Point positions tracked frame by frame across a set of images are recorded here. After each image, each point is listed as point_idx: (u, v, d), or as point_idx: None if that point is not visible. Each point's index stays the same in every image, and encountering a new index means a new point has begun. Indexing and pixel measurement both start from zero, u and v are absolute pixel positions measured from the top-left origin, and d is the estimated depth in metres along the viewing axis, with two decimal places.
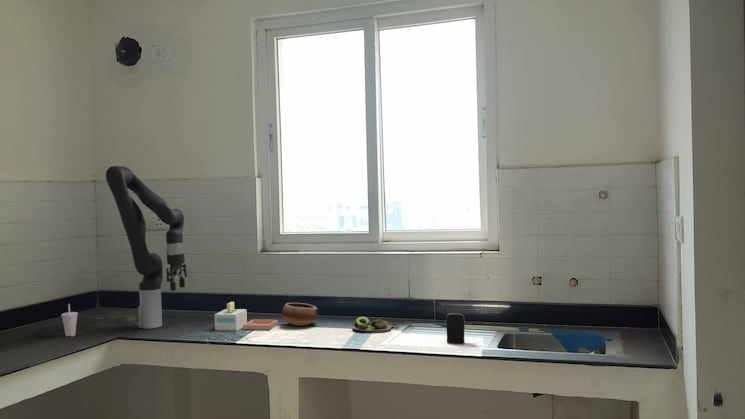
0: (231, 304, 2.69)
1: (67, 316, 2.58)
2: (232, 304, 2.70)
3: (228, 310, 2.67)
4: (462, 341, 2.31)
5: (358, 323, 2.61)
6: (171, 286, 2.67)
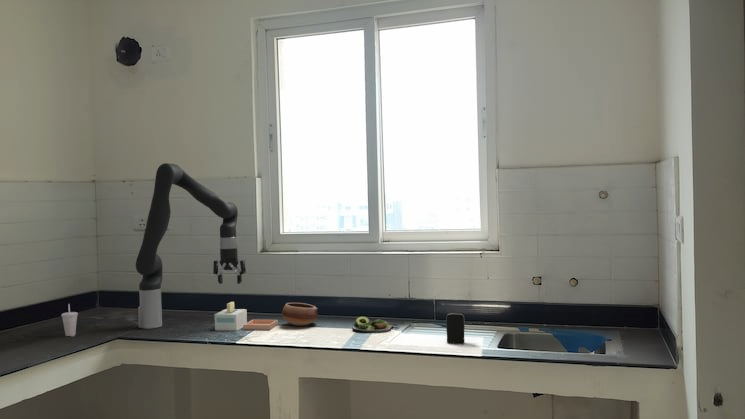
0: (231, 304, 2.69)
1: (67, 316, 2.58)
2: (232, 304, 2.70)
3: (228, 310, 2.67)
4: (462, 341, 2.31)
5: (358, 323, 2.61)
6: (240, 279, 2.68)
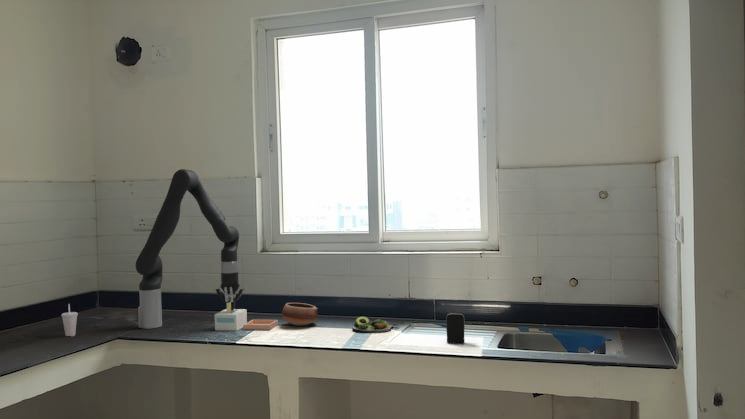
0: None
1: (67, 316, 2.58)
2: None
3: (228, 309, 2.67)
4: (462, 341, 2.31)
5: (358, 323, 2.61)
6: (234, 305, 2.69)
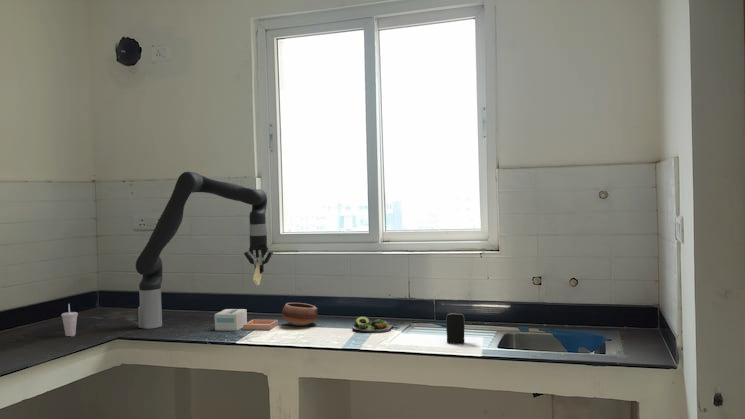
0: None
1: (67, 316, 2.58)
2: None
3: (257, 267, 2.65)
4: (462, 341, 2.31)
5: (358, 323, 2.61)
6: (262, 269, 2.67)
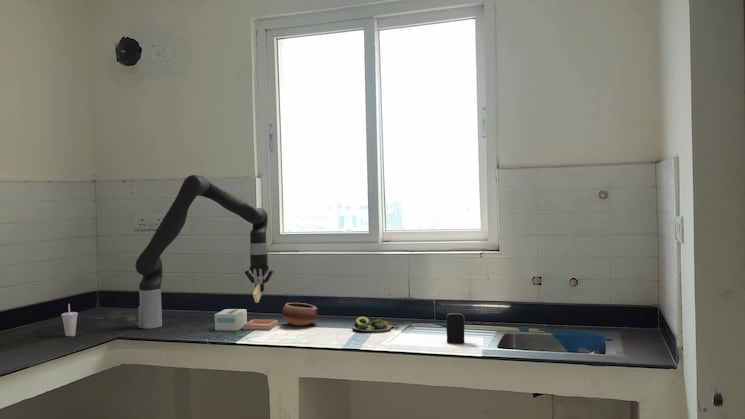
0: None
1: (67, 316, 2.58)
2: None
3: (258, 284, 2.66)
4: (462, 341, 2.31)
5: (358, 323, 2.61)
6: (263, 287, 2.67)
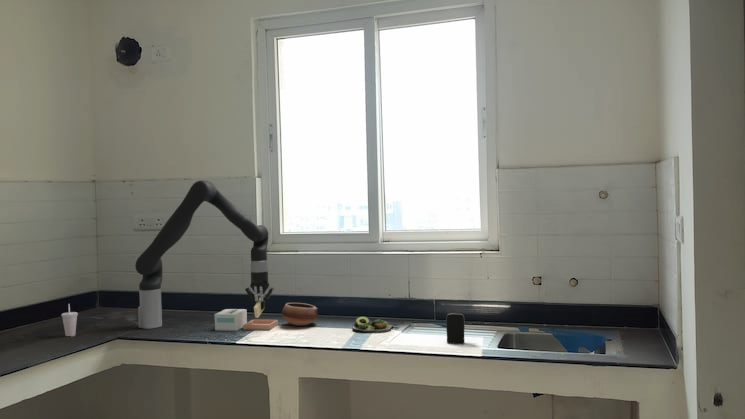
0: None
1: (67, 316, 2.58)
2: None
3: (259, 300, 2.67)
4: (462, 341, 2.31)
5: (358, 323, 2.61)
6: (264, 305, 2.67)
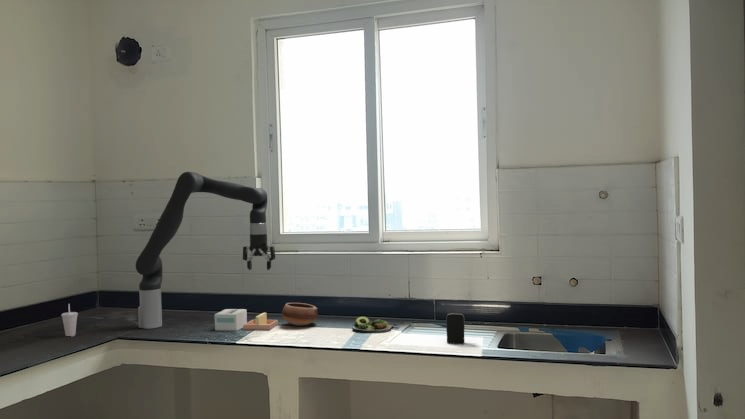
0: (266, 317, 2.72)
1: (67, 316, 2.58)
2: (266, 319, 2.72)
3: (262, 313, 2.70)
4: (462, 341, 2.31)
5: (358, 323, 2.61)
6: (270, 265, 2.66)
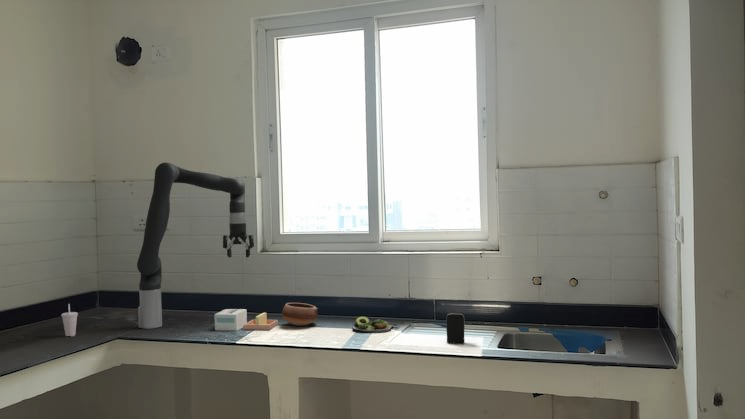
0: (266, 317, 2.72)
1: (67, 316, 2.58)
2: (266, 319, 2.72)
3: (262, 313, 2.70)
4: (462, 341, 2.31)
5: (358, 323, 2.61)
6: (249, 253, 2.78)
